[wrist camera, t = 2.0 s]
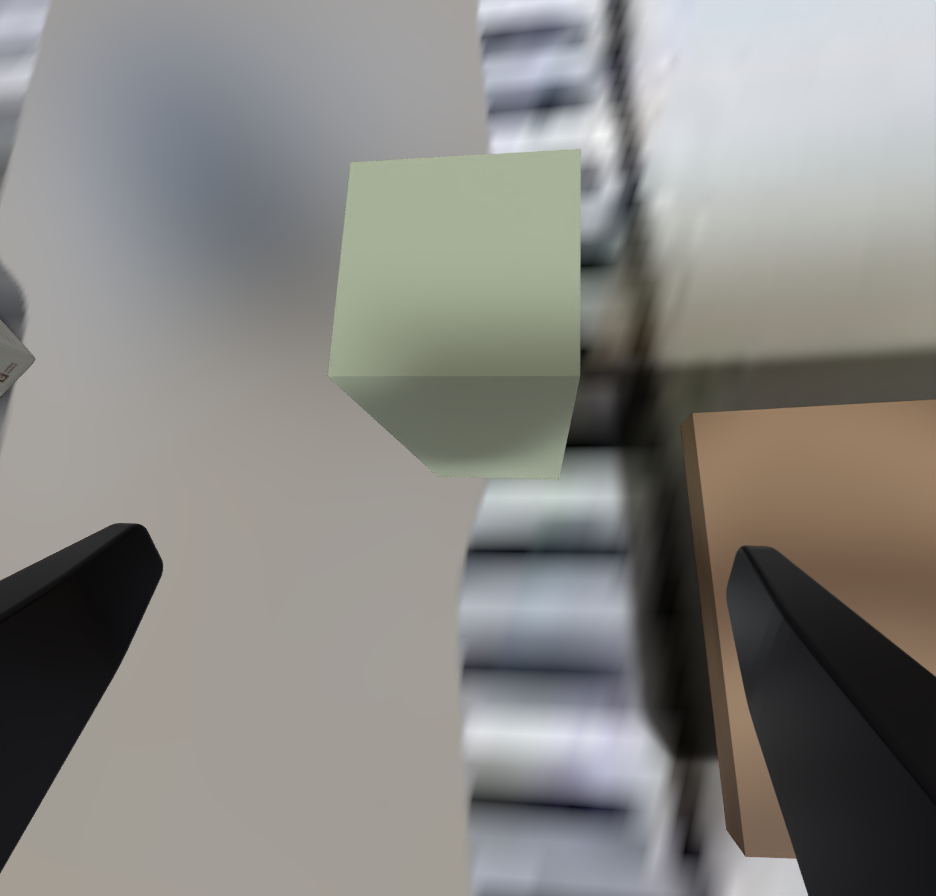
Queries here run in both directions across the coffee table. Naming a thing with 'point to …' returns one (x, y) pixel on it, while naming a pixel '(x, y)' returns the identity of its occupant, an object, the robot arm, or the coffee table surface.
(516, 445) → the sage block
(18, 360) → the supplement box
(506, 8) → the coffee table surface
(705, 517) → the tan square board
